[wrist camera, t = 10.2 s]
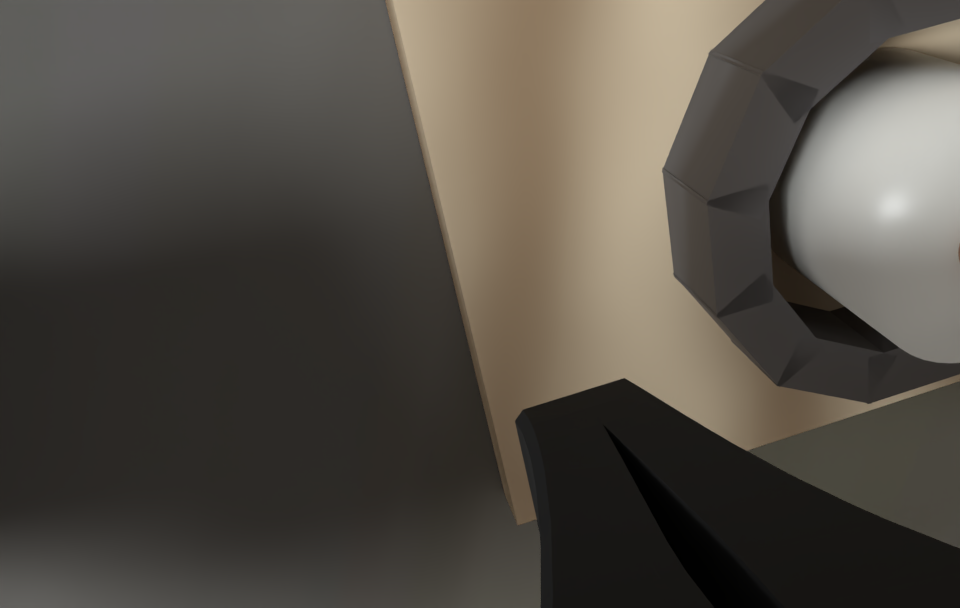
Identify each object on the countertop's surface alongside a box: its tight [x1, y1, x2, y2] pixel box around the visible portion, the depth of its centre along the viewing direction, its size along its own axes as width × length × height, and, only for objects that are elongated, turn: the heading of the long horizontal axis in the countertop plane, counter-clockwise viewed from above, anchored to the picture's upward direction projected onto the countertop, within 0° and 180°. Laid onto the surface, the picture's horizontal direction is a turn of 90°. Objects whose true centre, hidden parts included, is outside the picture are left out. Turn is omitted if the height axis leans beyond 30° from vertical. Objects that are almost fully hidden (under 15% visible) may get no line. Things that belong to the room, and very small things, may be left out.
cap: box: [769, 48, 960, 363], centre depth 17 cm, size 5×5×5 cm
